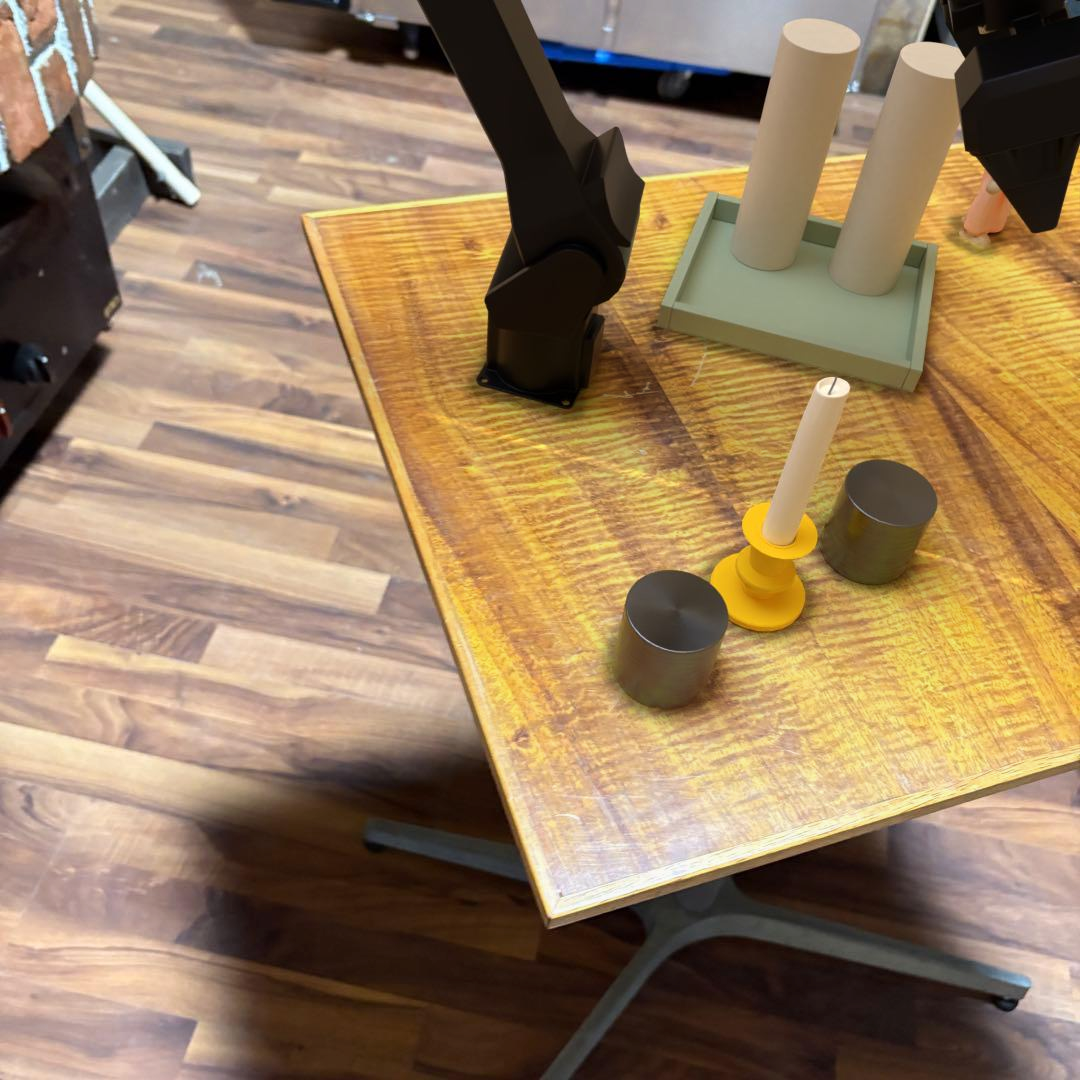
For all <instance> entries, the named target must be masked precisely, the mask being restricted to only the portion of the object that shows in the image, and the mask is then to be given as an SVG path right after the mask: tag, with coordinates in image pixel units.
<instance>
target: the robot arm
mask: <svg viewBox="0 0 1080 1080" xmlns="http://www.w3.org/2000/svg"><path fill="white" fill-rule="evenodd" d="M416 1H417V3H418V6H419V7H420V9H421V11H422V13H423V15H424V17H425V18H426V21H427V23H428V25H429V26H430V28H431V31H432V32H433V34H434V36H435V39H436V41H437V42H438V44H439V46H440V48H441V50H442V52H443V54H444V56H445V57H446V59H447V61H448V64H449V65H450V68H451V69H452V72H453V73H454V75H455V77H456V80H457V82H458V83H459V85H460V87H461V89H462V91H463V93H464V95H465V97H466V99H467V100H468V102H469V104H470V106H471V108H472V110H473V112H474V115H475V116H476V118H477V121H479V124H480V126H481V127H482V129H483V132H484V133H485V135H486V138H487V140H488V142H489V143H490V145H491V147H492V149H493V151H494V153H495V155H496V157H497V158H498V161H499V163H500V166H501V169H502V172H503V177H504V178H503V179H504V185H505V192H506V198H507V204H508V211H509V213H508V214H509V218H510V225H511V228H510V231H509V234H508V236H507V239H506V241H505V243H504V246H503V249H502V251H501V254H500V257H499V259H498V262H497V264H496V267H495V270H494V272H493V275H492V277H491V280H490V283H489V286H488V289H487V291H486V294H485V296H484V298H483V301H484V305H485V308H486V311H487V324H486V325H487V326H486V327H487V329H486V354H485V362H484V365H483V366H482V368H481V370H480V371H479V373H478V375H477V377H476V380H475V382H476V384H477V385H478V386H480V387H483V388H486V389H491V390H494V391H498V392H502V393H505V394H508V395H513V396H515V397H519V398H523V399H526V400H531V401H533V402H537V403H541V404H545V405H549V406H552V407H555V408H560V409H563V410H570V409H573V407H574V406H575V404H576V401H577V399H578V397H579V395H580V393H581V390H583V391H585V390H587V389H589V388H590V385H591V383H592V381H593V379H594V377H595V375H596V373H597V370H598V368H599V366H600V359H601V352H602V345H603V339H604V331H605V324H606V318H605V315H603V314H600V313H598V311H599V310H598V309H599V306H600V305H601V304H604V303H607V302H608V301H610V300H611V299H613V297H614V296H616V295H617V293H618V292H619V291H621V288H622V286H623V284H624V282H625V280H626V277H627V272H628V267H629V263H630V260H631V256H632V251H633V246H634V242H635V239H636V234H637V231H638V225H639V220H640V216H641V203H642V200H643V195H644V191H645V187H646V182H645V180H644V179H642V177H641V176H639V175H638V173H637V172H636V171H635V170H634V168H633V166H632V164H631V163H630V160H629V157H628V154H627V149H626V144H625V140H624V136H623V134H622V131H621V129H620V127H618V126H613V127H612V128H610V129H608V130H607V131H605V132H602V134H600V135H598V136H597V135H596V134H595V133H594V132H592V131H591V130H590V129H589V128H588V127H587V126H585V125H584V124H583V123H582V122H581V121H580V120H579V119H577V117H576V116H575V114H574V113H573V111H572V110H571V108H570V106H569V103H568V101H567V99H566V97H565V95H564V93H563V91H562V88H561V86H560V83H559V81H558V80H557V77H556V74H555V72H554V70H553V68H552V66H551V64H550V62H549V58H548V57H547V55H546V53H545V51H544V48H543V46H542V44H541V41H540V39H539V37H538V34H537V33H536V31H535V28H534V26H533V24H532V21H531V20H530V17H529V15H528V13H527V10H526V8H525V5H524V3H523V1H522V0H416ZM939 1H940V7H942V9H943V10H942V11H943V12H942V13H943V17H944V23H945V26H946V29H947V30H948V31H949V33H950V35H951V37H952V39H953V40H954V43H955V44H956V46H957V48H959V49H960V51H961V53H962V55H963V56H964V58H965V60H964V61H963V63H962V64H961V65H960V67H959V68H958V69H957V71H956V72H955V73H954V77H955V85H956V94H957V101H958V109H959V116H960V128H961V129H960V130H961V134H962V141H963V146H964V152H966V153H969V155H970V156H972V157H974V158H976V160H977V161H978V162H979V164H980V165H981V166H982V167H983V168H984V170H986V171H987V172H988V173H989V175H990V176H991V177H992V179H993V180H994V181H995V183H996V184H997V185H998V187H999V188H1000V190H1001V191H1002V192H1003V193H1004V195H1005V196H1006V198H1007V199H1008V200H1009V202H1010V203H1011V207H1012V208H1013V209H1014V210H1015V212H1016V213H1017V214H1018V216H1019V217H1020V219H1021V221H1022V222H1023V223H1024V225H1025V226H1026V227H1027V229H1028V230H1029V232H1030V233H1031V234H1042V233H1045V232H1050V231H1053V230H1055V229H1056V228H1057V227H1058V224H1059V221H1060V217H1061V213H1062V210H1063V206H1064V203H1065V199H1066V196H1067V192H1068V187H1069V183H1070V180H1071V176H1072V173H1073V170H1074V165H1075V161H1076V159H1077V155H1078V152H1079V149H1080V15H1077V16H1073V17H1072V16H1071V13H1070V10H1069V7H1068V5H1067V2H1066V1H1067V0H939ZM1074 1H1075V2H1080V0H1074ZM482 380H487V381H482ZM563 402H568V403H569V404H565V403H563Z"/></svg>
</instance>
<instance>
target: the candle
mask: <svg viewBox="0 0 1080 1080" xmlns="http://www.w3.org/2000/svg"><path fill="white" fill-rule="evenodd" d="M850 391H851V384H850V383H849V382H848V381H847V380H845V379H844V378H840V377H838V375H836V376H829V377H825V378H822V379H820V380H818V382H816V385H815V386H814V389H813V391H812V393H811V395H810V398H809V400H808V402H807V405H806V407H805V410H804V411H803V414H802V417H801V419H800V422H799V425H798V428H797V429H796V430H797V431H796V433H795V436H794V439H793V441H792V443H791V444H792V445H791V447H790V450H789V453H788V455H787V457H786V461H785V463H784V465H783V469H782V471H781V475H780V477H779V480H778V483H777V485H776V488H775V491H774V493H773V496H772V499H771V501H765V502H760V503H758V504H756V505H753V506H751V508H749V509H748V510H747V511H746V512H745V514H744V516H743V517H742V522H741V529H742V530H741V531H742V534H743V537H744V538H745V540H746V541H747V543H748V544H749V545H747V546H745V547H743V548H742V549H741V550H740V551H739V552H737V553H733V554H731V555H728V556H726V557H724V558H723V559H721V560H720V561H719V562H718V563H717V564H716V565H715V566H714V569H713V570H712V572H711V574H710V579H709V583H710V584H711V585H712V586H714V587H715V588H716V589H717V591H718V592H719V593H720V594H721V596H722V597H723V599H724V601H725V603H726V606H727V609H728V614H729V621H730V622H732V623H733V624H735V625H737V626H739V627H742V628H744V629H746V630H752V631H755V632H773V631H778V630H783V629H785V628H786V627H788V626H790V625H792V624H793V623H794V622H795V621H797V619H798V618H799V617H800V615H801V613H802V611H803V609H804V607H805V603H806V591H805V586H804V584H803V582H802V580H801V578H800V576H799V575H798V574H797V568H796V563H795V562H794V561H795V560H799V559H802V558H804V557H807V556H808V555H809V554H810V553H812V551H813V550H815V547H816V545H817V543H818V536H819V533H818V530H817V527H816V525H815V523H814V522H813V520H812V519H811V518H810V517H809V515H807V514H806V512H805V511H806V510H807V507H808V504H809V501H810V498H811V496H812V494H813V491H814V488H815V485H816V483H817V480H818V477H819V475H820V472H821V470H822V467H823V465H824V462H825V459H826V457H827V454H828V451H829V449H830V446H831V443H832V441H833V438H834V436H835V433H836V430H837V428H838V426H839V422H840V420H841V417H842V415H843V413H844V410H845V409H844V408H845V405H846V402H847V399H848V397H849V393H850Z"/></svg>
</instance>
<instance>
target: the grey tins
mask: <svg viewBox="0 0 1080 1080" xmlns="http://www.w3.org/2000/svg"><path fill="white" fill-rule="evenodd" d="M938 505H939V501H938V495H937V492H936V490H935V488H934V487H933V485H932V484H931V482H930V481H929V480H928V478H926V476H924V475H923V474H922V473H920V472H919V471H917V470H916V469H914V468H913V467H911V466H909V465H906V464H904V463H902V462H898V461H894V460H890V459H885V458H884V459H881V458H876V459H867V460H864V461H861V462H859V463H857V464H855V465H854V466H853V467H851V468H850V469H849V471H848V472H847V473H846V476H845V478H844V480H843V483H842V485H841V487H840V490H839V492H838V494H837V496H836V499H835V500H834V503H833V506H832V508H831V510H830V513H829V515H828V518H827V520H826V522H825V525H824V527H823V530H822V532H821V534H820V539H819V547H820V552H821V554H822V556H823V558H824V559H825V561H826V563H828V565H829V566H830V567H831V568H832V569H833V570H835V571H836V572H837V573H838V574H839V575H841V576H843V577H845V578H846V579H849V580H851V581H854V582H856V583H860V584H865V585H883V584H884V585H885V584H888V583H891V582H893V581H895V580H896V579H898V578H899V577H900V576H902V575H903V573H904V571H905V570H906V568H907V566H908V565H909V563H910V561H911V559H912V557H913V555H914V553H915V552H916V549H918V546H919V545H920V543H921V541H922V539H923V536H924V535H925V533H926V532H927V529H928V528H929V526H930V524H931V522H932V521H933V518H934V516H935V515H936V513H937V511H938ZM729 621H730V620H729V614H728V609H727V606H726V603H725V601H724V599H723V597H722V596H721V594H720V593H719V592H718V591H717V589H716V588H715V587H714V586H712V585H711V584H710V581H707V580H706V579H704V578H702V577H701V576H698V575H696V574H694V573H692V572H688V571H684V570H678V569H661V570H656V571H653V572H650V573H648V574H645V575H643V576H642V577H640V578H639V579H638V580H636V581H635V583H634V584H633V585H632V586H631V587H630V589H629V590H628V592H627V594H626V598H625V601H624V606H623V610H622V615H621V620H620V625H619V629H618V632H617V638H616V642H615V647H614V652H613V656H612V668H613V670H612V671H613V674H614V676H615V679H616V681H617V682H618V685H619V686H620V687H621V688H622V689H623V691H624V692H625V693H626V694H627V695H628V696H630V697H631V698H632V699H634V700H635V701H636V702H639V703H640V704H643V705H645V706H647V707H651V708H655V709H664V710H665V709H666V710H671V709H678V708H682V707H685V706H687V705H688V704H689V705H690V704H691V703H693V702H694V701H695V700H697V699H698V698H699V697H700V696H701V695H702V694H704V693H703V692H704V691H705V690H706V688H707V686H708V683H709V680H710V678H711V674H712V671H713V669H714V666H715V663H716V661H717V658H718V655H719V652H720V650H721V648H722V644H723V641H724V638H725V636H726V632H727V630H728V627H729V623H730V622H729Z"/></svg>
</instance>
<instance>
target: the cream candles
mask: <svg viewBox="0 0 1080 1080" xmlns="http://www.w3.org/2000/svg"><path fill="white" fill-rule="evenodd" d="M861 45H862V40H861V37H860V36H859V34H858V33H857V32H856V31H854V30H853V29H851V28H850V27H848V26H846V25H844V24H841V23H838V22H836V21H831V20H829V19H828V20H827V19H821V18H811V17H810V18H808V17H807V18H798V19H797V18H796V19H793V20H791V21H788V22H787V23H785V25H784V26H783V27H782V30H781V33H780V38H779V42H778V46H777V50H776V54H775V55H776V56H775V59H774V64H773V67H772V72H771V75H770V79H769V84H768V88H767V92H766V96H765V99H764V103H763V108H762V112H761V116H760V120H759V125H758V129H757V133H756V137H755V142H754V146H753V150H752V154H751V157H750V162H749V164H748V165H749V166H748V170H747V174H746V178H745V183H744V185H743V186H744V187H743V190H742V195H741V197H740V198H741V203H740V207H739V211H738V215H737V219H736V223H735V227H734V231H733V236H732V240H731V244H730V249H731V252H732V254H733V256H734V257H735V258H736V259H737V260H738V261H740V262H741V263H743V264H745V265H747V266H749V267H752V268H755V269H759V270H765V271H777V270H782V269H785V268H787V267H789V266H791V265H792V264H793V263H794V261H795V259H796V256H797V253H798V250H799V246H800V243H801V240H802V236H803V233H804V230H805V227H806V223H807V220H808V217H809V215H810V213H811V210H812V207H813V203H814V200H815V198H816V197H815V196H816V193H817V190H818V187H819V183H820V181H821V176H822V173H823V170H824V167H825V163H826V160H827V158H828V157H827V156H828V153H829V150H830V147H831V144H832V140H833V138H834V133H835V131H836V127H837V124H838V120H839V117H840V113H841V111H842V108H843V104H844V101H845V98H846V94H847V91H848V87H849V84H850V81H851V77H852V75H853V71H854V67H855V64H856V61H857V58H858V55H859V51H860V47H861ZM964 60H965V58H964V56H963V55H962V53H961V51H960V49H959V48H958V47H955V46H953V45H950V44H945V43H940V42H933V41H919V42H917V41H916V42H912V43H909V44H907V45H905V46H903V47H902V48H901V49H900V51H899V54H898V58H897V61H896V64H895V68H894V70H893V73H892V76H891V79H890V82H889V85H888V88H887V91H886V94H885V97H884V100H883V104H882V106H881V109H880V112H879V115H878V118H877V121H876V124H875V126H874V130H873V133H872V136H871V139H870V142H869V145H868V147H867V151H866V154H865V157H864V160H863V163H862V166H861V169H860V171H859V175H858V177H857V181H856V184H855V187H854V189H853V193H852V196H851V199H850V201H849V204H848V208H847V211H846V213H845V217H844V219H843V226H842V229H841V232H840V235H839V238H838V241H837V244H836V247H835V250H834V253H833V256H832V259H831V262H830V265H829V269H828V271H829V275H830V277H831V278H832V280H833V281H834V282H835V283H836V284H837V285H839V286H840V287H842V288H843V289H845V290H847V291H850V292H852V293H855V294H859V295H865V296H879V295H883V294H886V293H888V292H890V291H891V290H892V289H893V288H894V287H895V285H896V282H897V279H898V277H899V274H900V272H901V269H902V267H903V264H904V262H905V259H906V257H907V254H908V252H909V249H910V247H911V244H912V242H913V239H915V238H916V234H917V231H918V230H919V226H920V224H921V221H922V219H923V216H924V214H925V211H926V209H927V207H928V204H929V202H930V199H931V196H932V194H933V191H934V189H935V186H936V183H937V181H938V179H939V177H940V173H941V171H942V169H943V167H944V165H945V161H946V159H947V156H948V154H949V151H950V150H951V149H950V148H951V146H952V144H953V141H954V139H955V137H956V133H957V131H958V128H959V126H960V125H961V123H960V116H959V109H958V101H957V94H956V85H955V77H954V73H955V72H956V71H957V69H958V68H959V67H960V65H961V64H962V63H963V61H964Z"/></svg>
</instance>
